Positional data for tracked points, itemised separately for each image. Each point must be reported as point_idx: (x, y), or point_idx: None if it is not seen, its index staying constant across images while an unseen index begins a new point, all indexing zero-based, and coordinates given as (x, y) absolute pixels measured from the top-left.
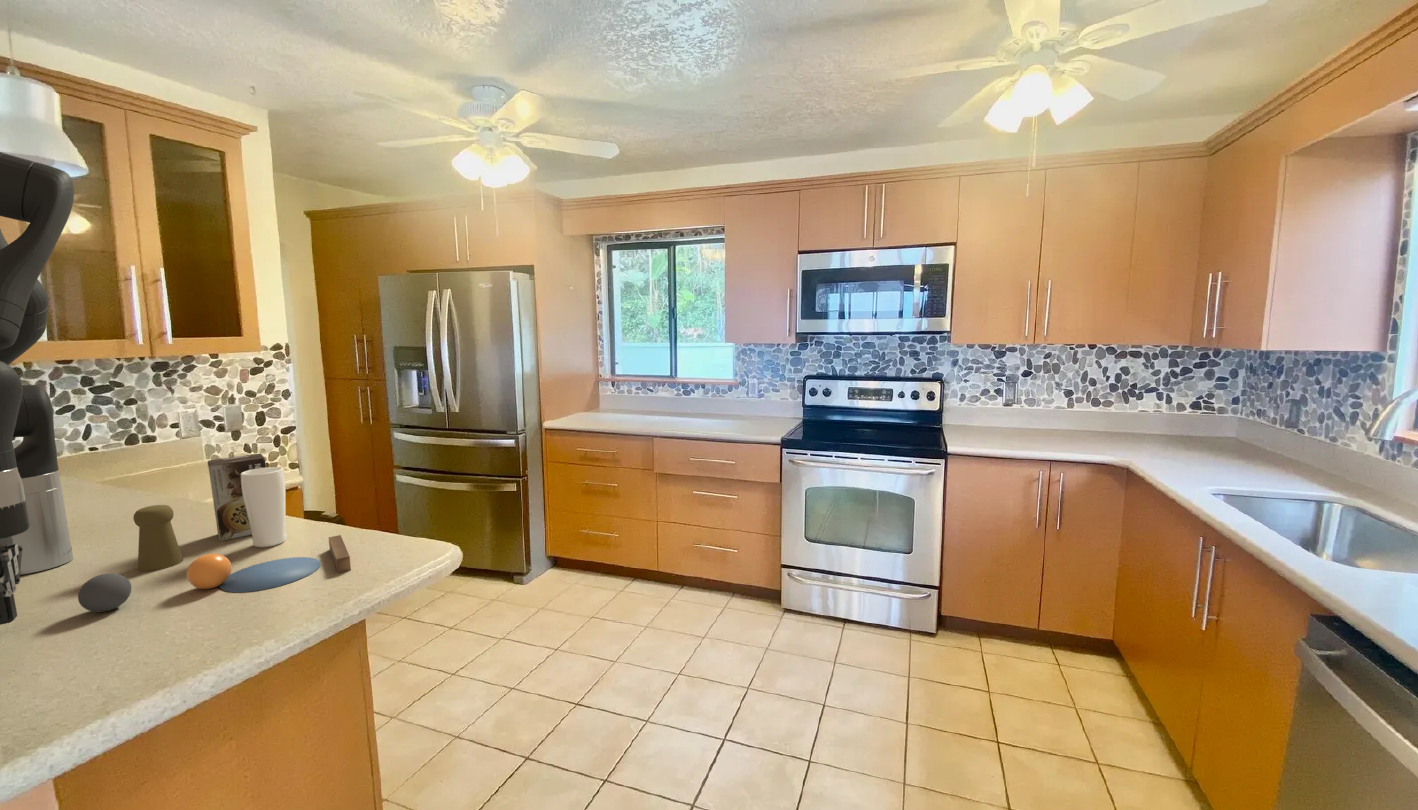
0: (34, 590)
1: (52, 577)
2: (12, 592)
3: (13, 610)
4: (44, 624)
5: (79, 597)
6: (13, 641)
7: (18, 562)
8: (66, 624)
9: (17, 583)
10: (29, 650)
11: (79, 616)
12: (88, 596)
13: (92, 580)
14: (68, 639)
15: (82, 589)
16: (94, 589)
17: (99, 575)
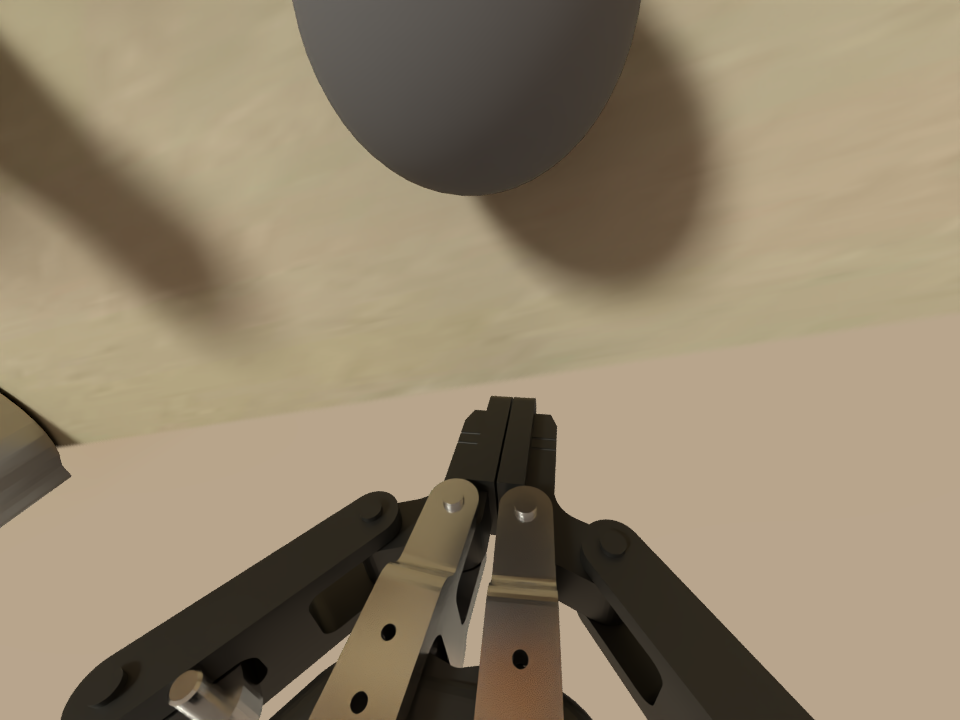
0: (155, 391)
1: (57, 373)
2: (474, 488)
3: (517, 423)
4: (518, 298)
5: (548, 169)
6: (652, 353)
7: (255, 607)
8: (591, 211)
9: (394, 499)
10: (868, 277)
11: None
12: (607, 92)
13: (493, 67)
14: (897, 129)
15: (529, 153)
16: (607, 29)
17: (404, 13)
